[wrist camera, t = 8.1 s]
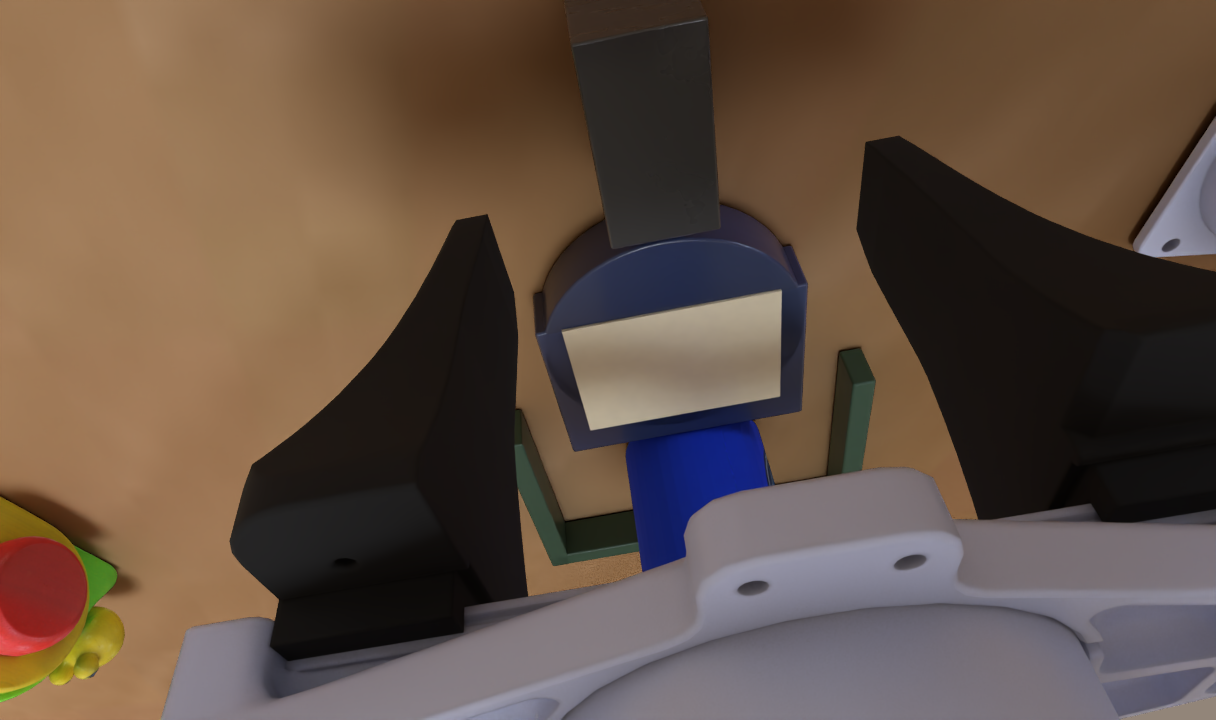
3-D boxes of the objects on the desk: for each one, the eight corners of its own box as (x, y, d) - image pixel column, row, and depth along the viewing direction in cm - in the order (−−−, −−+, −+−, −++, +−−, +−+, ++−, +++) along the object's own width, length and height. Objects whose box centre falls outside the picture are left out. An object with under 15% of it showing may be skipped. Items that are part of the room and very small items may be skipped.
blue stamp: (438, -5, 17) (429, 73, 14) (800, -80, 16) (854, -13, 14) (570, 413, 28) (577, 497, 25) (788, 373, 27) (817, 454, 25)
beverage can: (727, 477, 32) (837, 915, 22) (608, 470, 31) (667, 932, 20) (777, 398, 28) (936, 877, 18) (645, 386, 27) (737, 894, 17)
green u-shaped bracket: (861, 347, 27) (876, 381, 26) (843, 483, 33) (855, 515, 32) (499, 412, 27) (499, 448, 26) (551, 534, 34) (552, 566, 33)
